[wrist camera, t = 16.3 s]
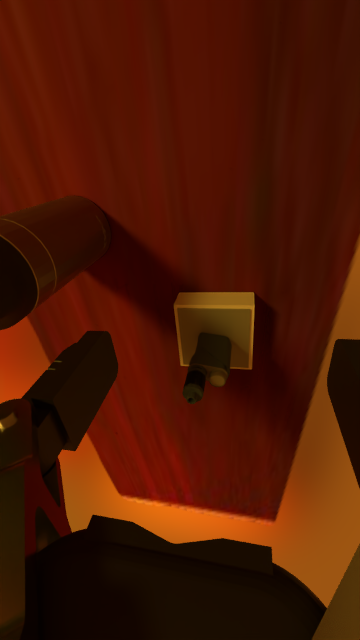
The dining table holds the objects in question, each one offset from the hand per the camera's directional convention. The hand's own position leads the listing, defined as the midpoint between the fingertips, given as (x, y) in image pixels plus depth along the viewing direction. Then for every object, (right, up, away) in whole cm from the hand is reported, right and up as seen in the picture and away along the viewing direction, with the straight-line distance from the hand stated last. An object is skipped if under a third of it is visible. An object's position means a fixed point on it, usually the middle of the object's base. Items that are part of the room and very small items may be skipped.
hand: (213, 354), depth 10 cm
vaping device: (+4, -2, +31) cm, 32 cm away
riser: (+5, +1, +35) cm, 35 cm away
